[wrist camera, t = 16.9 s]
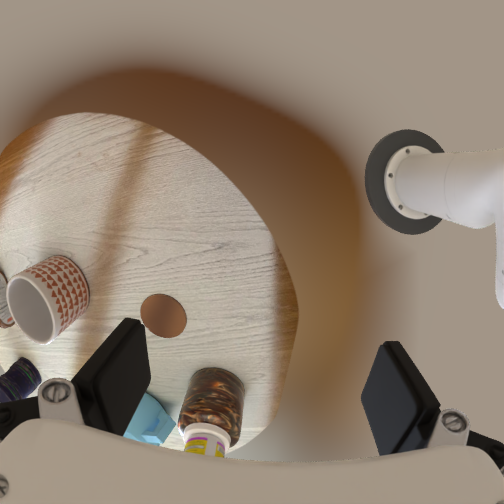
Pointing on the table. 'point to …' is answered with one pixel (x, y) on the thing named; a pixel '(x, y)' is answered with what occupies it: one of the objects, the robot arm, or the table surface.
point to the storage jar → (19, 381)
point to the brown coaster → (163, 316)
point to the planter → (47, 298)
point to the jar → (213, 406)
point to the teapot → (149, 422)
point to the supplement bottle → (205, 445)
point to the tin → (4, 305)
